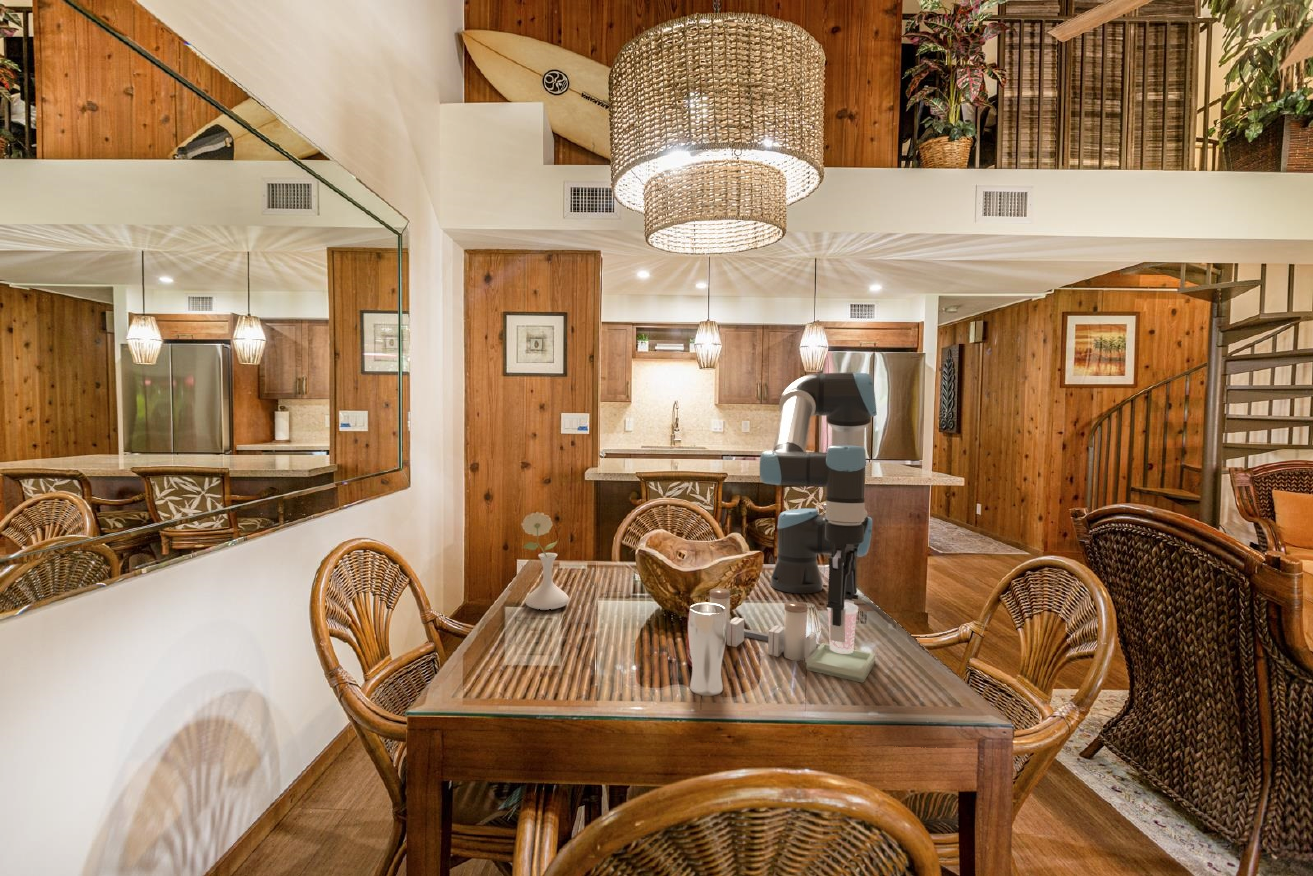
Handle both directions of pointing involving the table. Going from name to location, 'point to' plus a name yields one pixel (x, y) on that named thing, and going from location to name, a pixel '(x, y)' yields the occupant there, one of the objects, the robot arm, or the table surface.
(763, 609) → the table surface
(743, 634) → the holder
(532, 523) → the flower in vase
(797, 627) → the cylinder
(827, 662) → the tray
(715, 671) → the beer glass
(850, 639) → the beverage cup
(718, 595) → the cylinder
